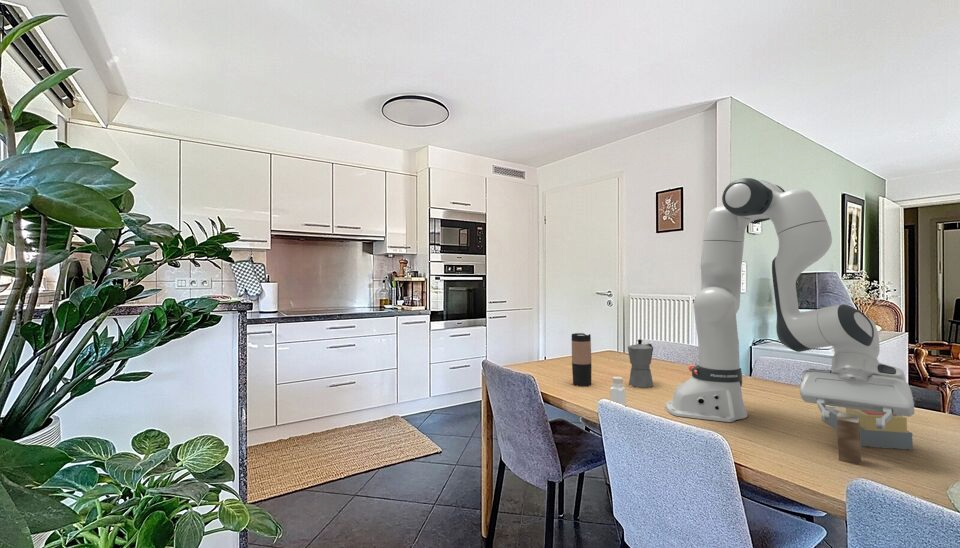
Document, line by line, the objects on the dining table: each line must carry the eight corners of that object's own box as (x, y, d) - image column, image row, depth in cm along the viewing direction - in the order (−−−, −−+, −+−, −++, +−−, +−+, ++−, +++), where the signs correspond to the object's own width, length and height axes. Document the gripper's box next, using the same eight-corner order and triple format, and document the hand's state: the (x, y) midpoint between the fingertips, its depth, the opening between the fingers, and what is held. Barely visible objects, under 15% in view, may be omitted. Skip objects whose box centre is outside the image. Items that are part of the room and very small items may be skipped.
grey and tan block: (861, 446, 104) (860, 415, 104) (821, 420, 123) (820, 393, 123) (912, 449, 101) (911, 418, 101) (863, 422, 120) (862, 395, 120)
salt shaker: (614, 404, 142) (613, 375, 143) (626, 406, 140) (625, 377, 140) (609, 407, 139) (609, 377, 139) (621, 409, 137) (621, 379, 137)
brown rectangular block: (838, 460, 96) (836, 415, 96) (840, 455, 98) (839, 412, 99) (859, 465, 93) (857, 419, 94) (861, 460, 96) (859, 415, 96)
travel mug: (572, 386, 167) (571, 335, 167) (571, 381, 174) (570, 333, 175) (592, 386, 166) (591, 335, 166) (591, 382, 173) (589, 333, 174)
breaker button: (870, 435, 105) (869, 415, 105) (861, 429, 109) (860, 410, 109) (890, 436, 104) (889, 416, 104) (880, 431, 108) (879, 411, 108)
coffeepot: (642, 390, 159) (641, 342, 159) (620, 385, 166) (619, 339, 167) (664, 383, 168) (662, 338, 169) (642, 379, 176) (641, 336, 176)
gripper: (799, 360, 110) (794, 407, 103) (912, 370, 95) (914, 425, 88) (804, 375, 113) (798, 421, 106) (913, 386, 98) (916, 440, 91)
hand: (852, 423), depth 97 cm, fingers open, 8 cm apart
